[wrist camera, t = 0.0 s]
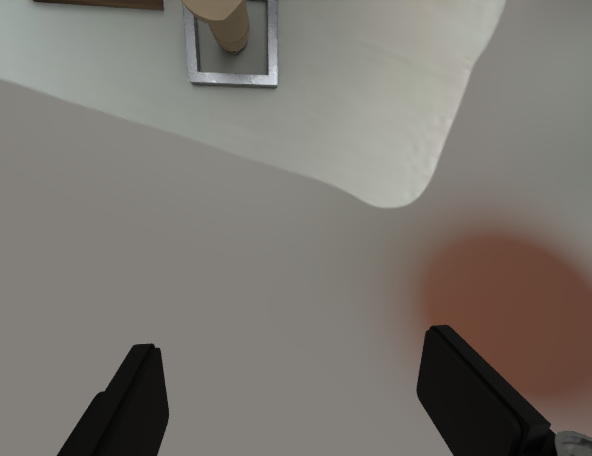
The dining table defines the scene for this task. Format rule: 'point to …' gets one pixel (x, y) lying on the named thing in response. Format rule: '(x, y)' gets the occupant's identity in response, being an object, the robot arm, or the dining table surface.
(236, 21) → the handle
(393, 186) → the dining table surface
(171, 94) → the dining table surface
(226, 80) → the collar
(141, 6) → the tray
